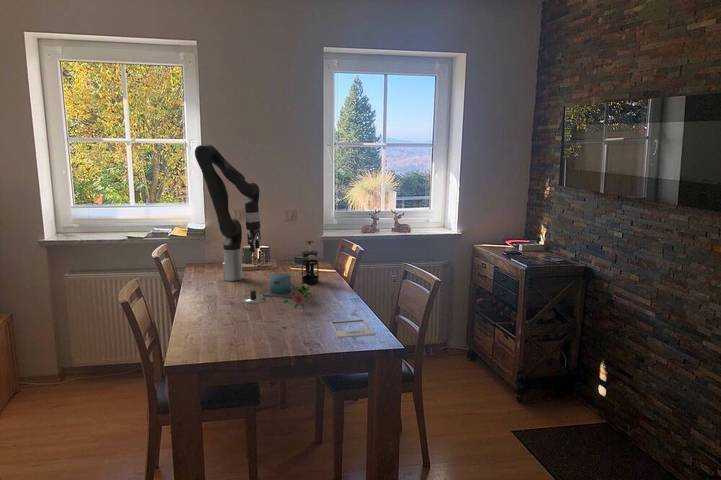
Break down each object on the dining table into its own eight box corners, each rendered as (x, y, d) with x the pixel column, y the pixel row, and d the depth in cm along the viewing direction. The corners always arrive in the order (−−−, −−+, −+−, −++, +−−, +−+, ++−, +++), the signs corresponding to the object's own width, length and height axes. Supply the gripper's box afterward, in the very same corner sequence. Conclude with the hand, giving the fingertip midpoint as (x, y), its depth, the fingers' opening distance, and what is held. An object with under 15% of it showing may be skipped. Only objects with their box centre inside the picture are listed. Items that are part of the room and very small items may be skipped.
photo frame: (337, 336, 212) (330, 321, 229) (337, 338, 212) (330, 323, 229) (374, 333, 215) (363, 318, 232) (374, 335, 215) (363, 321, 232)
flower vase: (311, 308, 274) (307, 315, 239) (288, 301, 273) (281, 306, 238) (318, 285, 274) (315, 289, 239) (295, 278, 274) (289, 281, 239)
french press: (321, 284, 290) (320, 242, 286) (304, 286, 287) (303, 243, 282) (315, 279, 301) (314, 238, 296) (299, 281, 297) (298, 239, 293)
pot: (262, 296, 268) (262, 278, 267) (272, 288, 282) (271, 272, 280) (289, 297, 266) (289, 280, 264) (298, 290, 279) (297, 273, 278)
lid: (237, 303, 258) (237, 293, 257) (247, 296, 269) (246, 287, 268) (260, 304, 256) (259, 294, 255) (268, 298, 266) (268, 288, 266)
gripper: (250, 218, 299) (252, 247, 302) (241, 222, 285) (243, 252, 288) (263, 218, 298) (265, 247, 301) (255, 222, 284) (257, 252, 287)
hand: (255, 250), depth 294 cm, fingers open, 8 cm apart
